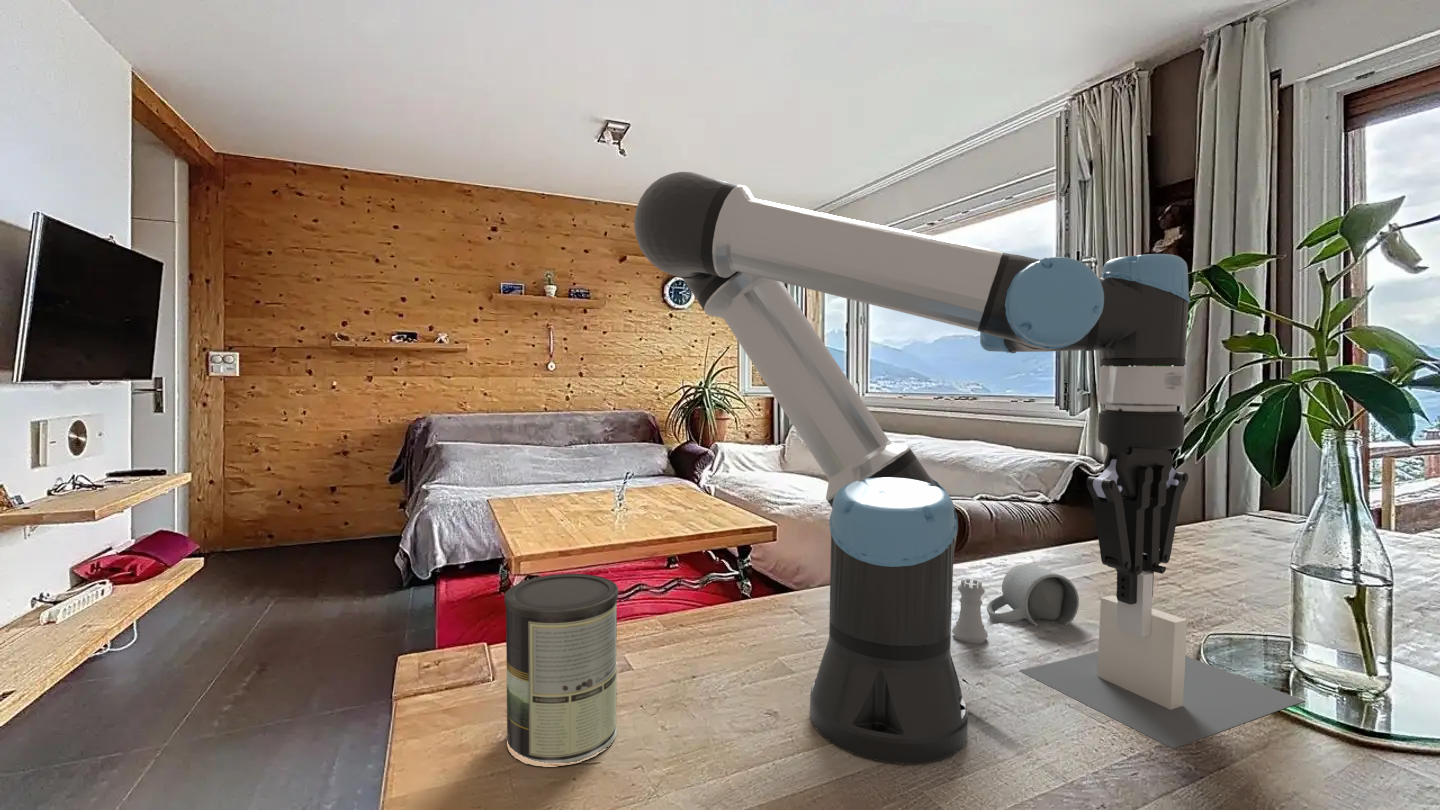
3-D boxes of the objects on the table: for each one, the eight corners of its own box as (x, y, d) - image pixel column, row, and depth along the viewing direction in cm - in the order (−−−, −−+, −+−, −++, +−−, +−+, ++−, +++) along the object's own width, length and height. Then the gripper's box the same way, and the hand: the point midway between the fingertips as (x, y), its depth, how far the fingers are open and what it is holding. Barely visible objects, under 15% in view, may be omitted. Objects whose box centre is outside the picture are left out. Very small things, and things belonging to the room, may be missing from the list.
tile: (1170, 709, 68) (1174, 622, 67) (1097, 676, 75) (1100, 597, 75) (1183, 705, 69) (1187, 619, 68) (1109, 673, 76) (1113, 595, 76)
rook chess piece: (973, 653, 83) (975, 590, 82) (943, 641, 86) (945, 580, 86) (995, 645, 85) (997, 584, 85) (965, 634, 89) (967, 574, 88)
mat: (1172, 757, 61) (1173, 748, 61) (1019, 677, 76) (1019, 670, 76) (1304, 708, 70) (1304, 700, 70) (1143, 646, 86) (1143, 640, 85)
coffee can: (480, 753, 60) (479, 600, 60) (549, 701, 70) (549, 568, 69) (578, 780, 57) (578, 616, 56) (637, 721, 66) (637, 580, 65)
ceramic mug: (1045, 608, 99) (1046, 557, 98) (1079, 630, 91) (1081, 574, 90) (975, 611, 98) (976, 559, 97) (1004, 634, 90) (1005, 577, 89)
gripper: (1133, 411, 63) (1126, 656, 64) (1218, 408, 69) (1210, 634, 70) (1064, 407, 70) (1058, 628, 71) (1146, 405, 75) (1139, 610, 77)
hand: (1133, 631), depth 71 cm, fingers closed
